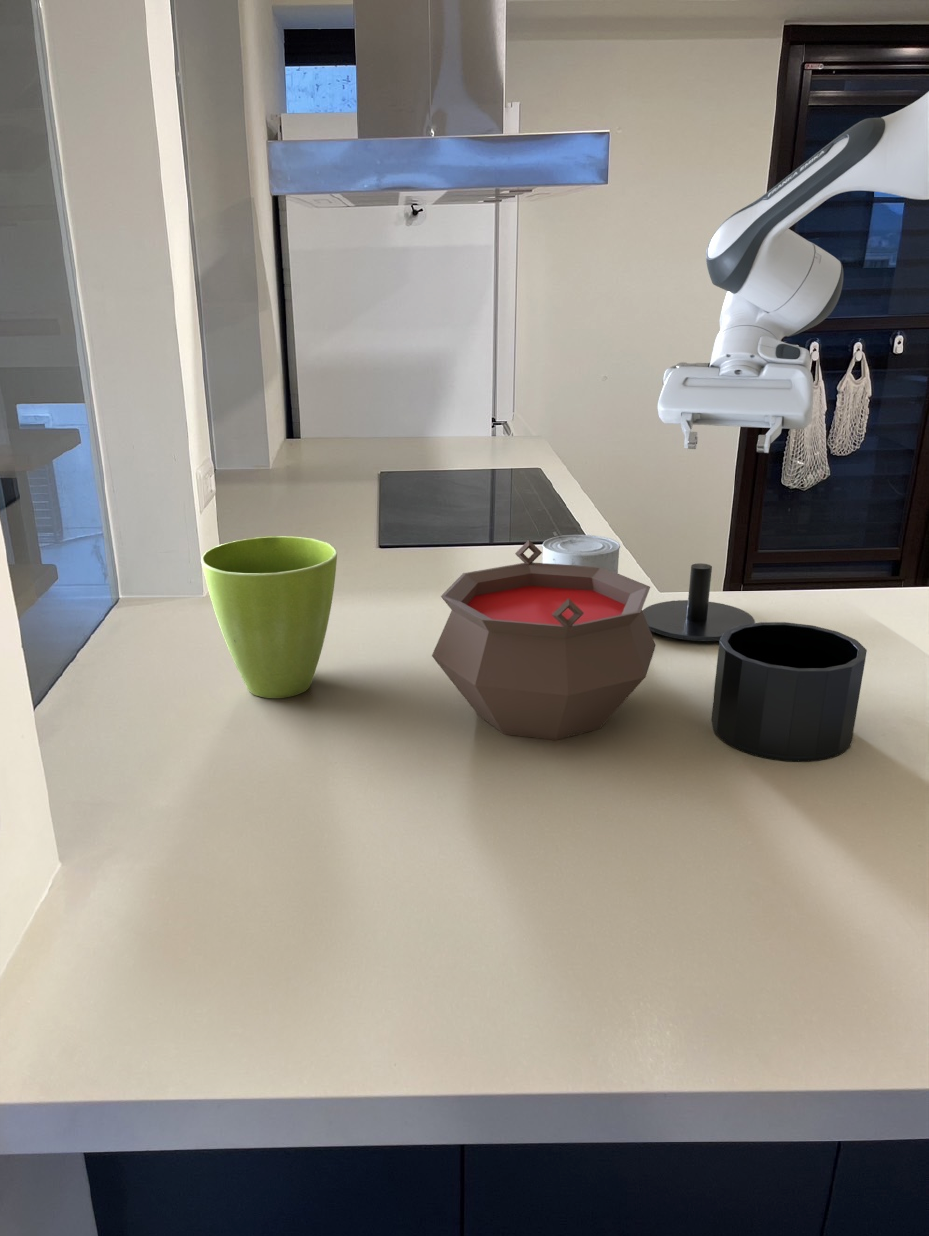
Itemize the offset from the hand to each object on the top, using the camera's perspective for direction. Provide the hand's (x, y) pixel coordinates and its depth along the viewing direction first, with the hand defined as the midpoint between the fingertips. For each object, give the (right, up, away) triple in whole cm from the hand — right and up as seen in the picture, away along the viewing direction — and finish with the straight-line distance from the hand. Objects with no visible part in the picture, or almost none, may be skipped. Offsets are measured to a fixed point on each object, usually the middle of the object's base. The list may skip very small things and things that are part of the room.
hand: (725, 448), depth 135 cm
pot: (-4, -37, -31) cm, 48 cm away
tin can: (-21, -26, -5) cm, 33 cm away
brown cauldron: (-28, -35, -25) cm, 51 cm away
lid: (-5, -23, -2) cm, 24 cm away
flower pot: (-57, -32, -17) cm, 68 cm away
